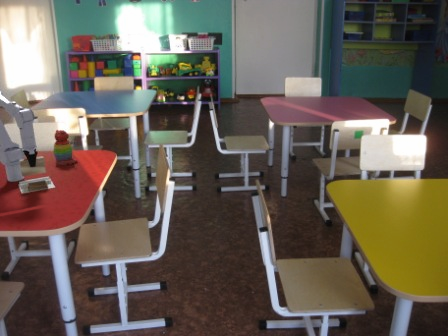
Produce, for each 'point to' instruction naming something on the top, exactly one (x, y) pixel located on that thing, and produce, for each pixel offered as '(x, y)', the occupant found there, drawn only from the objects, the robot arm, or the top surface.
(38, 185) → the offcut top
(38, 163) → the birch sheet
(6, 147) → the robot arm
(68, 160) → the stacking bear
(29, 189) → the offcut bottom
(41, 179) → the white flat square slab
